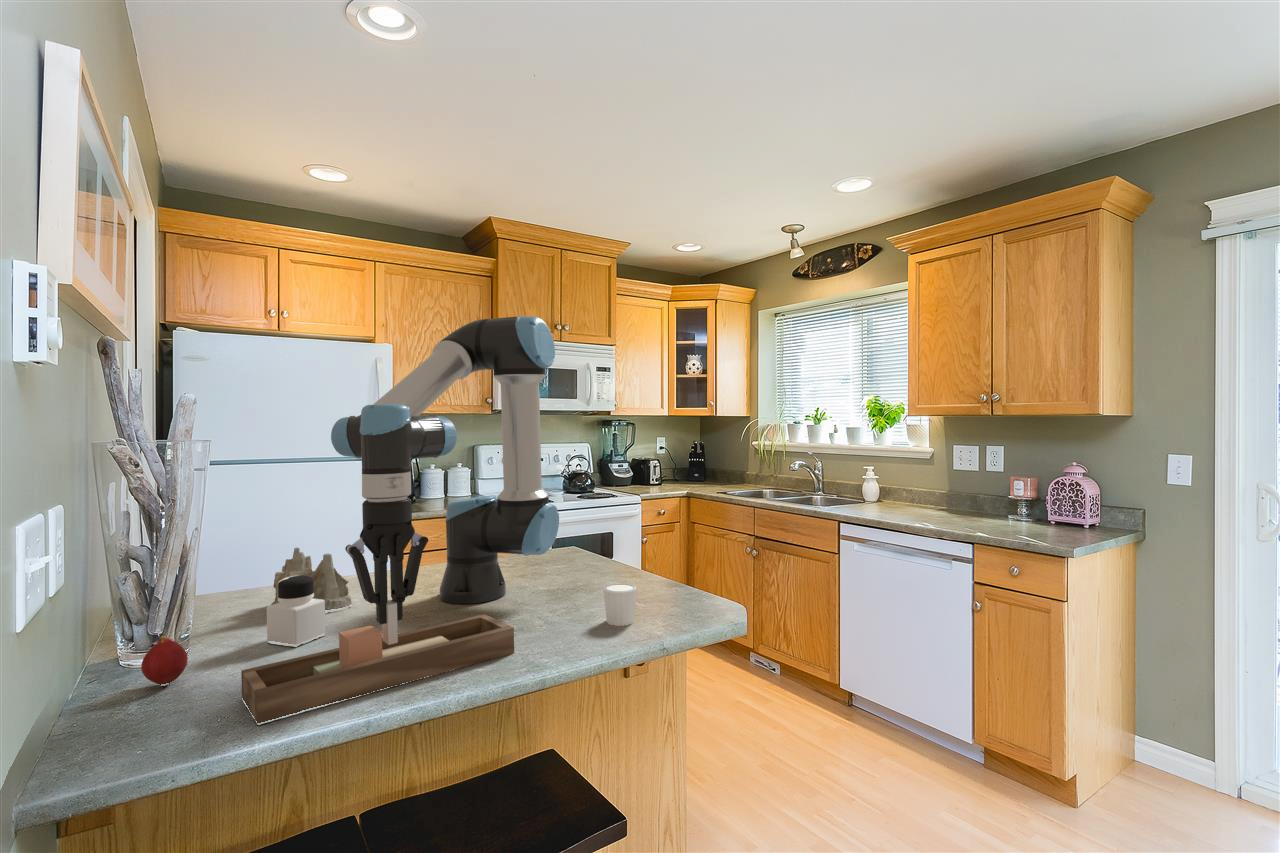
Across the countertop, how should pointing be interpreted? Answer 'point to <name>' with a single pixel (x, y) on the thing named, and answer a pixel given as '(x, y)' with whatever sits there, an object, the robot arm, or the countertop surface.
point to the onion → (164, 661)
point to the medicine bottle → (295, 612)
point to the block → (359, 645)
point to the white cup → (620, 604)
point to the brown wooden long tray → (372, 667)
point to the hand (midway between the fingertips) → (390, 641)
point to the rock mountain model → (317, 579)
